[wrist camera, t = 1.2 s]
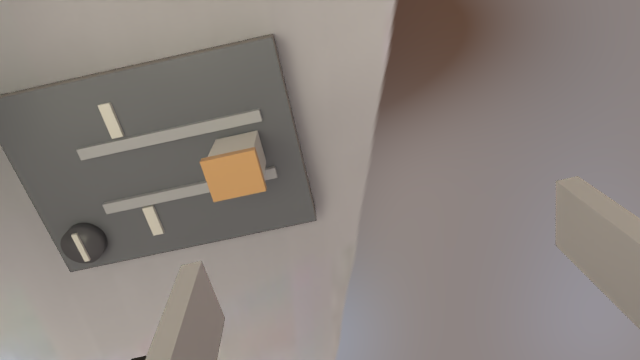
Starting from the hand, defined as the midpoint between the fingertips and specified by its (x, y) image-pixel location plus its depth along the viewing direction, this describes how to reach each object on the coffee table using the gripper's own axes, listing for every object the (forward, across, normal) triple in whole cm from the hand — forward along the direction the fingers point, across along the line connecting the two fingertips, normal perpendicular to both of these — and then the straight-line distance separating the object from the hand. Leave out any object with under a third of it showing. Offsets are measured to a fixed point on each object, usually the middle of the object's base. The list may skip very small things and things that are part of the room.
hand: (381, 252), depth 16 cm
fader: (+16, -7, 0) cm, 18 cm away
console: (+19, -13, 0) cm, 23 cm away
